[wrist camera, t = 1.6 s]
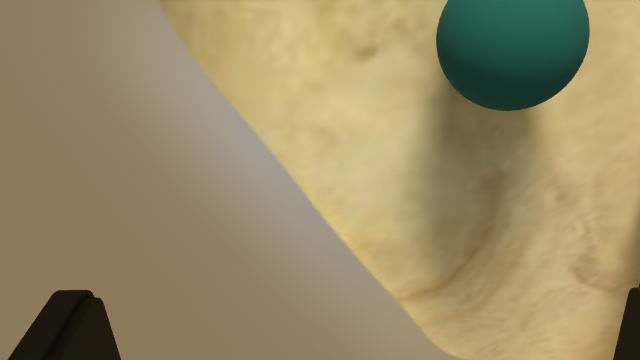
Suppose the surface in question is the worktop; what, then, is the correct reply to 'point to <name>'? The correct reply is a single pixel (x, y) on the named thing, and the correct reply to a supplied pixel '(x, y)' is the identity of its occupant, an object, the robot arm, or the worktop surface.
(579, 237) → the worktop surface
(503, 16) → the ball
